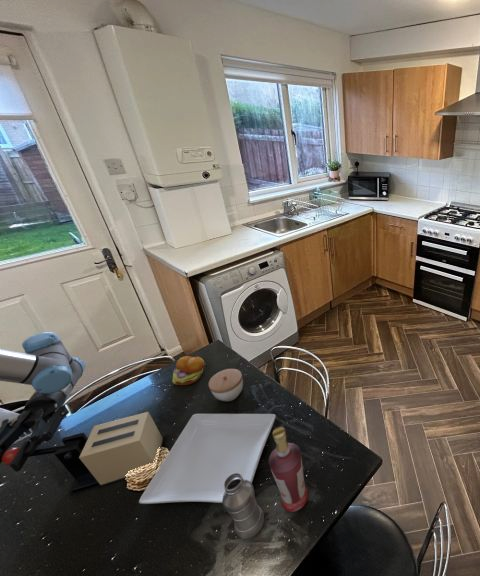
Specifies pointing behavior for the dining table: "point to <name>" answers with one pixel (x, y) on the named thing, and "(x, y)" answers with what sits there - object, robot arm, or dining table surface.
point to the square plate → (209, 457)
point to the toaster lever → (37, 451)
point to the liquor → (288, 472)
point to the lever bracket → (76, 463)
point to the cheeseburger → (188, 370)
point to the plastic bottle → (242, 506)
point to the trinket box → (226, 384)
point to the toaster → (121, 447)
